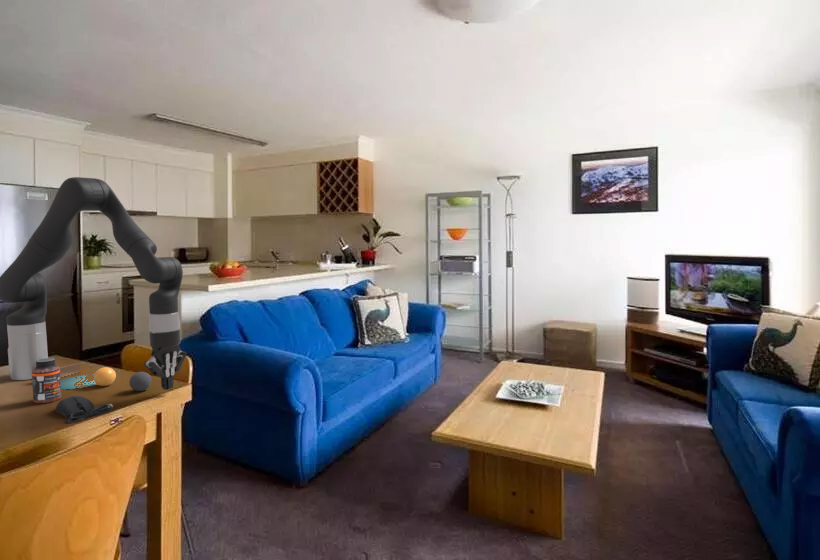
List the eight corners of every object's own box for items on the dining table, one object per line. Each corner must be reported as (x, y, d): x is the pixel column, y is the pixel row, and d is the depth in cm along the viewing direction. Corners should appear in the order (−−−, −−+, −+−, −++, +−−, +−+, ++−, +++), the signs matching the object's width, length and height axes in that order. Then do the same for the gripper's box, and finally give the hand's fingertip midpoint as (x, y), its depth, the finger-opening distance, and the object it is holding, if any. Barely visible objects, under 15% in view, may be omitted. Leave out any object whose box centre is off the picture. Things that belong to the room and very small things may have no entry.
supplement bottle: (45, 405, 117) (42, 363, 116) (27, 403, 118) (24, 361, 117) (67, 397, 123) (64, 357, 122) (49, 395, 124) (47, 356, 123)
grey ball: (125, 392, 127) (124, 373, 126) (142, 386, 132) (141, 368, 131) (139, 394, 125) (138, 375, 125) (156, 388, 130) (155, 370, 130)
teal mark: (40, 386, 131) (40, 386, 131) (87, 373, 145) (87, 372, 145) (74, 391, 127) (74, 391, 127) (119, 377, 140) (119, 377, 140)
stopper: (36, 383, 135) (36, 373, 134) (76, 372, 146) (76, 363, 146) (40, 383, 134) (39, 373, 134) (80, 372, 146) (79, 363, 145)
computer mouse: (87, 401, 121) (86, 388, 121) (115, 412, 114) (115, 397, 113) (42, 414, 112) (41, 399, 112) (70, 426, 105) (69, 410, 105)
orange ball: (89, 387, 131) (88, 369, 131) (107, 381, 136) (106, 364, 136) (103, 389, 129) (102, 371, 129) (120, 383, 135) (119, 365, 134)
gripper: (173, 323, 131) (176, 380, 133) (133, 332, 119) (136, 395, 120) (193, 325, 129) (196, 383, 130) (155, 334, 116) (158, 398, 118)
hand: (167, 388), depth 125 cm, fingers closed
